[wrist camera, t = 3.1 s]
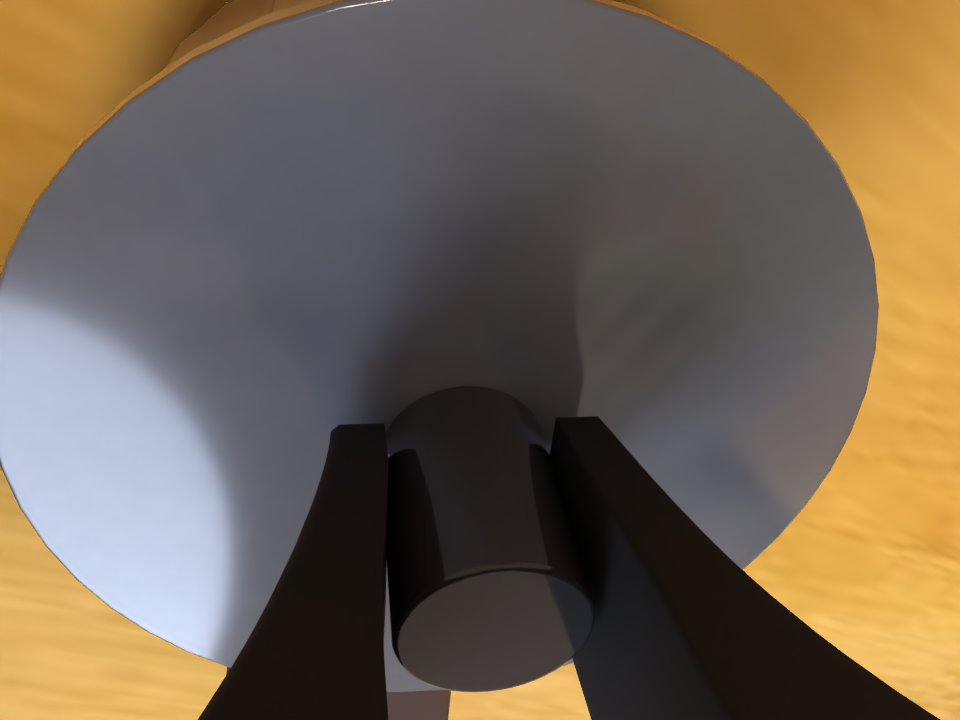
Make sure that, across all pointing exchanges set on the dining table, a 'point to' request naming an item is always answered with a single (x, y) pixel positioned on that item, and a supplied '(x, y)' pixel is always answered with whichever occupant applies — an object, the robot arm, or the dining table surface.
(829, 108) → the dining table surface
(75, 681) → the dining table surface
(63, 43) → the dining table surface
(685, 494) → the pot lid
